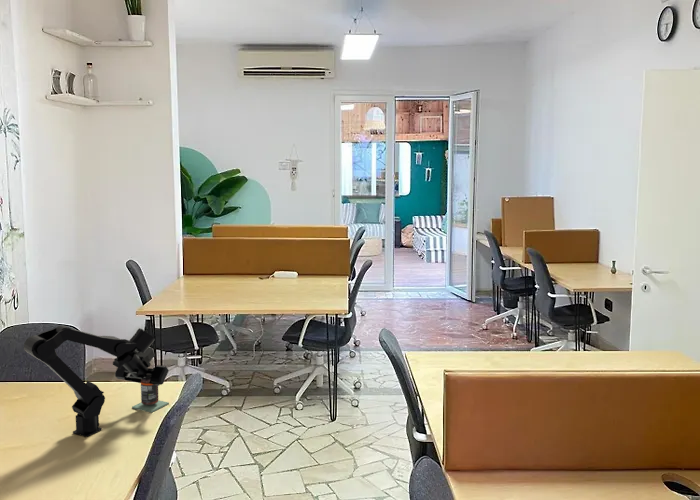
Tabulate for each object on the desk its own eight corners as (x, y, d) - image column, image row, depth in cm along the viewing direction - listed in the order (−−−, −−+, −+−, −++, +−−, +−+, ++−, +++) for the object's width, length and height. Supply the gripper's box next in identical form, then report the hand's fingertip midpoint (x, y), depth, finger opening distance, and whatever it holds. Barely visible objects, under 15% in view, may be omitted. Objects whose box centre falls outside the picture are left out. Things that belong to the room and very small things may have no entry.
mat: (151, 412, 224) (151, 411, 224) (132, 408, 227) (131, 406, 227) (168, 404, 232) (168, 402, 232) (149, 399, 236) (149, 398, 235)
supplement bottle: (152, 398, 233) (151, 368, 232) (161, 402, 230) (161, 372, 228) (137, 402, 229) (137, 372, 227) (147, 406, 225) (146, 375, 224)
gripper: (165, 344, 220) (182, 366, 232) (119, 339, 225) (138, 361, 237) (152, 373, 213) (171, 394, 225) (105, 367, 219) (126, 388, 231)
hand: (151, 383), depth 230 cm, fingers closed on supplement bottle, 6 cm apart
